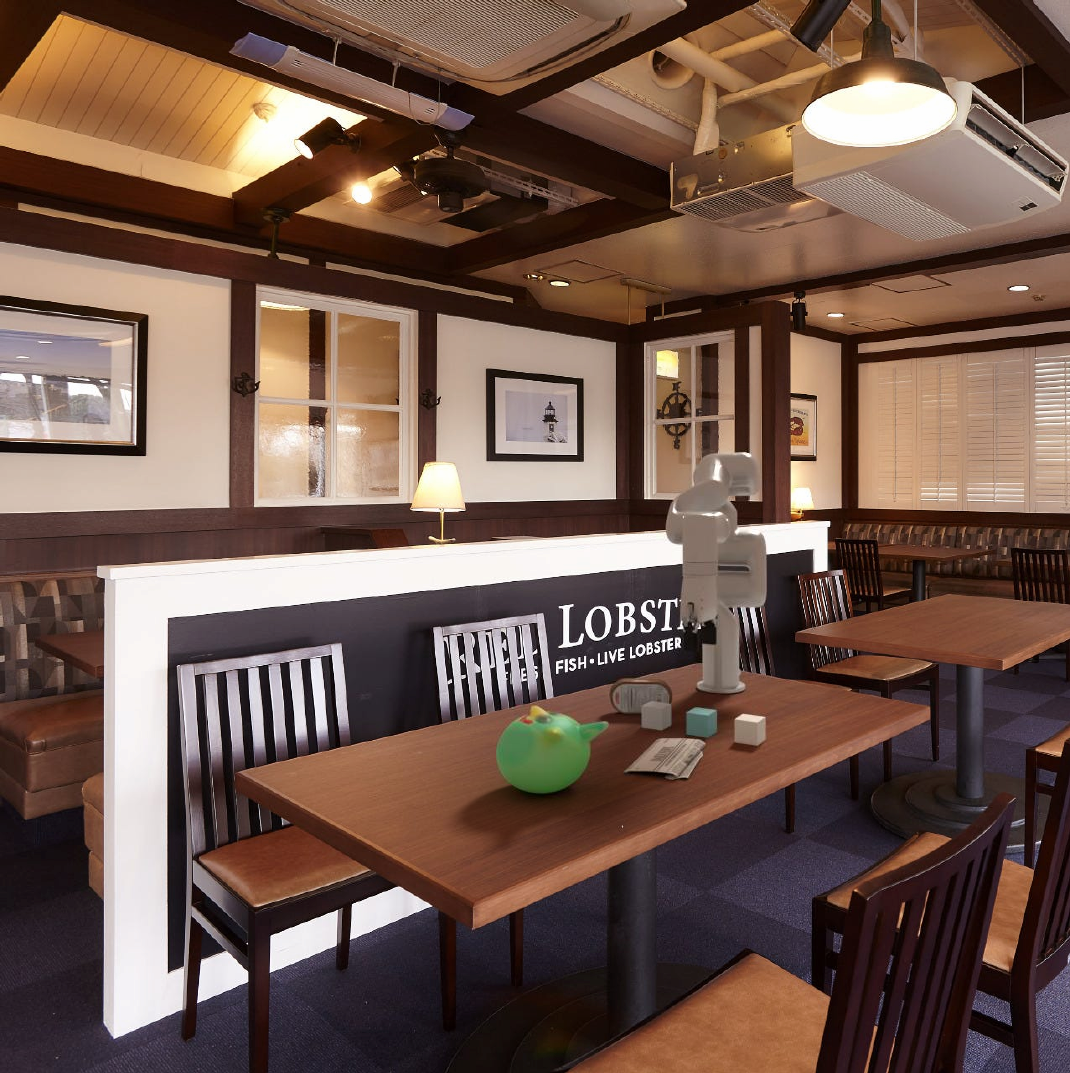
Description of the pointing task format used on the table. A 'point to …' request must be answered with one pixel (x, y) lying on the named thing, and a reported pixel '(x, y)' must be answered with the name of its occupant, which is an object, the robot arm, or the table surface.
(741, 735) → the cream block
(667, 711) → the grey block
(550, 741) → the toy bird
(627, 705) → the tin
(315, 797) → the table surface
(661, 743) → the newspaper
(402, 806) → the table surface
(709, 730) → the teal block
